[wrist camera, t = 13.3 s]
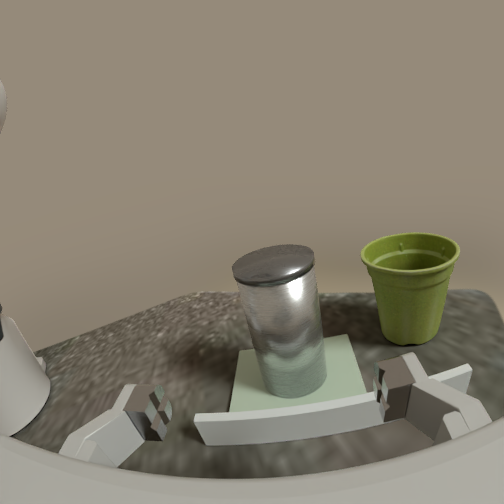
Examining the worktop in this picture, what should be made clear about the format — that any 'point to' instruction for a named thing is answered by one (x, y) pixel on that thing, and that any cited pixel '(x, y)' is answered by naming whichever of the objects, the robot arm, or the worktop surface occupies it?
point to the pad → (335, 387)
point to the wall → (306, 417)
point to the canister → (283, 318)
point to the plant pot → (410, 283)
